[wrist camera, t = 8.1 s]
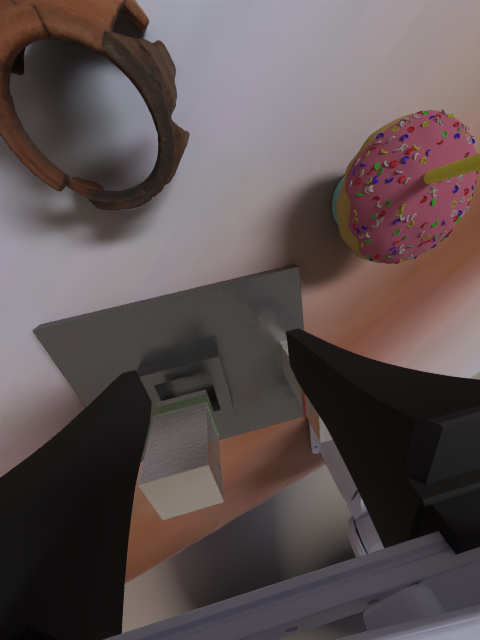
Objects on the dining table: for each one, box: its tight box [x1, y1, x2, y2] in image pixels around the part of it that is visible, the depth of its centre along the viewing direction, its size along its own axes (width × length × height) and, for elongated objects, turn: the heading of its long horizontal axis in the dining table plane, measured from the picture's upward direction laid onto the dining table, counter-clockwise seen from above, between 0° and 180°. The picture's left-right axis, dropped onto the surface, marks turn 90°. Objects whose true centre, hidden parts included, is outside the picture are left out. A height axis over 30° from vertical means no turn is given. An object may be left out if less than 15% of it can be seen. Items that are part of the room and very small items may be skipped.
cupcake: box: [332, 110, 480, 264], centre depth 13 cm, size 9×8×12 cm
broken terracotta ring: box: [0, 0, 189, 210], centre depth 12 cm, size 12×10×8 cm
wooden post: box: [138, 389, 224, 520], centre depth 16 cm, size 4×4×6 cm
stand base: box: [33, 264, 333, 462], centre depth 20 cm, size 18×22×9 cm
